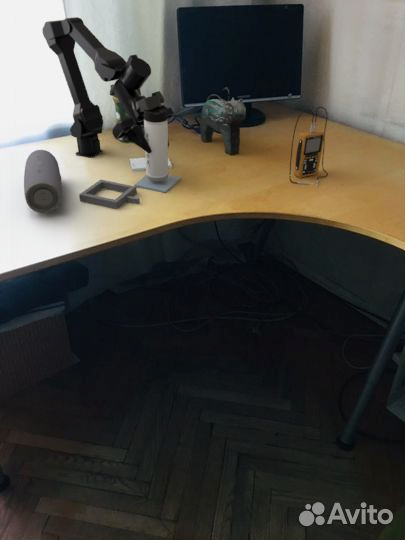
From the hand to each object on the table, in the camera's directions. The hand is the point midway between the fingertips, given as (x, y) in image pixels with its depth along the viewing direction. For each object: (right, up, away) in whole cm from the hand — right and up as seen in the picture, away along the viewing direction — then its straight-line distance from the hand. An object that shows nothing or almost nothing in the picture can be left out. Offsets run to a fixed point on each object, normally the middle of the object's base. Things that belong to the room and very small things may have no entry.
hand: (159, 149), depth 126 cm
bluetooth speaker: (-30, -14, -2) cm, 34 cm away
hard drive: (-5, -1, +18) cm, 19 cm away
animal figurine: (+18, +9, +31) cm, 37 cm away
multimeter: (+45, -6, +11) cm, 47 cm away
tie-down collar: (-12, -14, -2) cm, 18 cm away
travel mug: (-1, -7, +6) cm, 9 cm away
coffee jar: (-14, +13, +37) cm, 42 cm away
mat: (-1, -8, +7) cm, 10 cm away
